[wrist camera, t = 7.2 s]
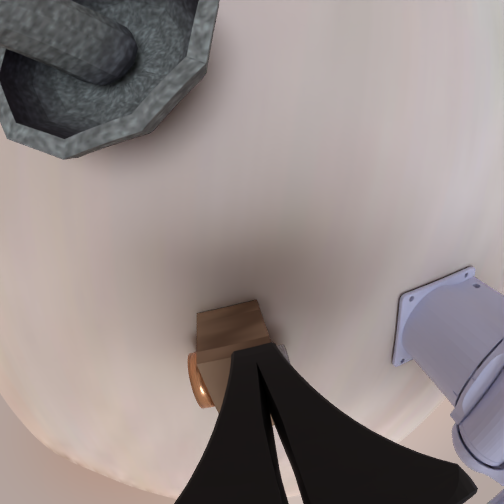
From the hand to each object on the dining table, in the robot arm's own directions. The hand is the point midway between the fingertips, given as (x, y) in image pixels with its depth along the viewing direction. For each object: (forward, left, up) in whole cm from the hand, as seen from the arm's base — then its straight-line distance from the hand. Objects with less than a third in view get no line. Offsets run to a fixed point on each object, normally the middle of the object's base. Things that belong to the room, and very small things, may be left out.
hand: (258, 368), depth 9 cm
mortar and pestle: (+4, -13, -10) cm, 17 cm away
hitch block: (+1, +7, -9) cm, 11 cm away
